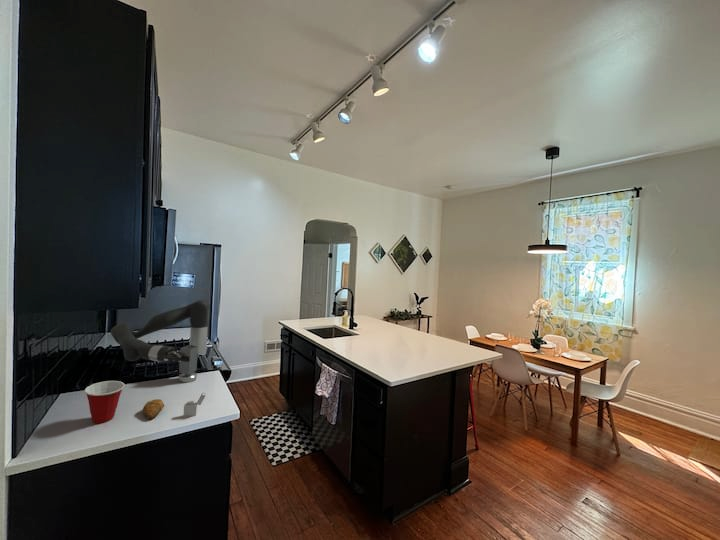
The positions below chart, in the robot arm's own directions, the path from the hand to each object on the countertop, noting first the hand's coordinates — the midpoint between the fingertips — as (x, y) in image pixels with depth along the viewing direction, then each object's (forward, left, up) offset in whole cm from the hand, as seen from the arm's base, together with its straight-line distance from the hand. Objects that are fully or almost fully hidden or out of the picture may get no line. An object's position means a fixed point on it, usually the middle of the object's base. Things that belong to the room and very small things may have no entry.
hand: (193, 357), depth 140 cm
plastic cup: (+31, -23, -11) cm, 40 cm away
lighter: (+35, +6, -11) cm, 37 cm away
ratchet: (-7, -4, -11) cm, 14 cm away
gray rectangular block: (-1, -2, -7) cm, 8 cm away
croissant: (+29, -9, -12) cm, 32 cm away
